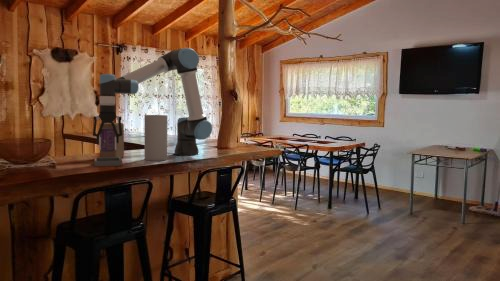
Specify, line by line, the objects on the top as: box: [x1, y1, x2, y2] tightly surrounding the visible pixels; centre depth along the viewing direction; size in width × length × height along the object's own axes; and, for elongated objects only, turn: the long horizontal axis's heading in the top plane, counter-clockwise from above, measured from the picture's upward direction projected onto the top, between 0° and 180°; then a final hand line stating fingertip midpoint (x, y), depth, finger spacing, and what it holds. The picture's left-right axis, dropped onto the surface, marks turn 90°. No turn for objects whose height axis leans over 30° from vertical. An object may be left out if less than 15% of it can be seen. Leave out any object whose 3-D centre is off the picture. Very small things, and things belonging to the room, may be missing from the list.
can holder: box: [93, 157, 123, 168], centre depth 207 cm, size 13×13×2 cm
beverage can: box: [99, 128, 115, 152], centre depth 206 cm, size 7×7×12 cm
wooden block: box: [99, 122, 125, 159], centre depth 227 cm, size 10×10×20 cm
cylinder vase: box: [144, 114, 168, 162], centre depth 226 cm, size 12×12×25 cm
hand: (107, 149), depth 207 cm, fingers closed on beverage can, 7 cm apart
